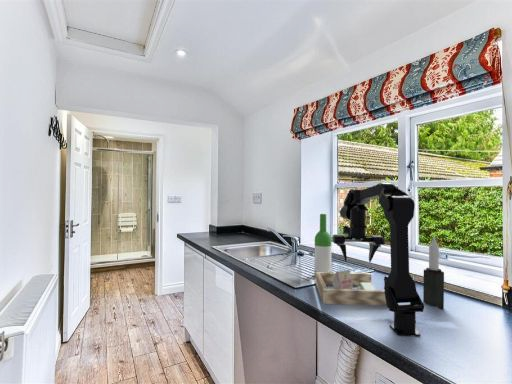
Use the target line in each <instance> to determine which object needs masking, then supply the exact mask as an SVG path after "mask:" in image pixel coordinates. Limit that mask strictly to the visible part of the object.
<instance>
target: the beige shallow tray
mask: <svg viewBox="0 0 512 384" xmlns="http://www.w3.org/2000/svg"><path fill="white" fill-rule="evenodd" d="M314 273H315V275H314V276H315V277H314V278H315V286H316V288H317V290H318V294H319V295H320V298H321V300H322V302H323V304H326V305H327V304H328V305H352V306H353V305H356V306H386V307H387V304H386V298H385V293H384V291H385V289H383V290H382V289H375V290H360V289H353V288H352V289H333V288H328V287H327V285H329V286H330V285H331V286H333V280H334V277H335V275H336V272H332V271H331V272H315V271H314ZM350 275H351V278H352V286H360V282H366V283H371V284H372V273H371V272H367V273H366V272H350Z"/></svg>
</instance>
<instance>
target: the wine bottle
mask: <svg viewBox="0 0 512 384" xmlns="http://www.w3.org/2000/svg"><path fill="white" fill-rule="evenodd" d="M313 269H314V272H313V273H314V276H315V272H332V237H331V234H330V233H329V232H328V231H327V214H325V213H320V215H319V231H318V232H317V233H316V235H315V236H314V268H313Z"/></svg>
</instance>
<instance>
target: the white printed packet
mask: <svg viewBox="0 0 512 384" xmlns="http://www.w3.org/2000/svg"><path fill="white" fill-rule="evenodd" d="M335 273H336V275H335V277H334V280H333V285H332V289H353V285H352V278H351V275H350V273H351V271H350V269H345V270H339V271H336V272H335Z"/></svg>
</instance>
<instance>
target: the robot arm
mask: <svg viewBox="0 0 512 384" xmlns="http://www.w3.org/2000/svg"><path fill="white" fill-rule="evenodd" d="M373 199H378V204H379V205H380V207H381V208H382V209H383V216H384V217H385V219H386V221H387V222H388V224H389V232H390V233H389V234H390V236H389V238H390V242H389V243H390V273H389V274H388V275H384V277H383V281H384V284H383V286H384V287H383V290H385V291H384V293H385V298H386V304H387V306H386V308H388V310H389V312H392V313H393V322H390V323H389V326H390V328H391V329H392V330H393V332H395V334H396V335H397V336H409V337H410V336H412V337H414V336H416V337H417V336H418V337H420V336H421V335H422V334H421V333H420V332H419V330H418V329H417V328H416V327H417V326H416V324H417V323H416V317H417V315H416V314H417V313H420V312H421V313H423V312H424V309H425V305H424V304H425V303H424V302H423V301H422V300H423V299H422V298H421V296H420V295H419V292H418V291H417V285H416V282H415V281H414V279H413V277H412V276H411V273H410V251H409V250H410V249H409V248H410V247H409V224H410V223H411V222H412V220H413V218H414V217H415V206H416V204H415V201H414V199H412V197H410V195H408V193H407V192H405V191H403V190H401V188H398V187H397V186H396V185H395V184H394V183H392V182H380V183H377V184H376V185H372V186H370V187H367V188H363V189H349V191H348V192H347V194H346V196H345V199H344V201H343V206H342V207H341V208H340V210H339V215H340V217H341V218H342V219H345V220H348V221H349V226H348V225H343V226H342V234H333V235H332V237H331V242H332V243H334V244H335V245H336V246H337V247H339V248H340V250H341V253H342V257H343V260H344V261H345V262H347V259H348V256H347V245H346V244H345V243H346V242H347V243H348V242H350V243H355V242H357V243H368V244H369V249H368V251H369V252H368V263H371V262H372V260H373V258H374V255H375V254H376V252H377V251H378V249H379V248H381V247H382V245H383V246H385V245H386V243H385V237H384V236H381V235H379V234H378V235H377V234H374V235H373V234H370V236H368V237H367V235H366V231H367V230H366V228H367V225H366V220H367V219H366V218H367V217H366V212H368V211H369V208H368V207H367V206H366V205H367V204H369V203H370V202H371V200H373ZM345 235H347V236H345Z"/></svg>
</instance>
